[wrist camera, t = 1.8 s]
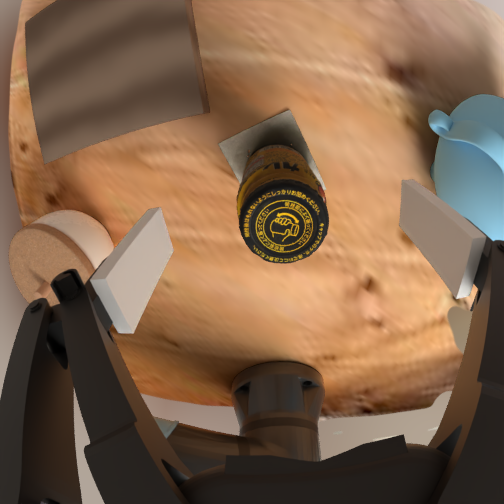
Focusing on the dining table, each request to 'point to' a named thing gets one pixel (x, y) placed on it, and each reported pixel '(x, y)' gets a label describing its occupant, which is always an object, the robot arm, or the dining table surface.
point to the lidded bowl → (56, 251)
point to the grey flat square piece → (111, 70)
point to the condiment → (277, 190)
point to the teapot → (472, 161)
